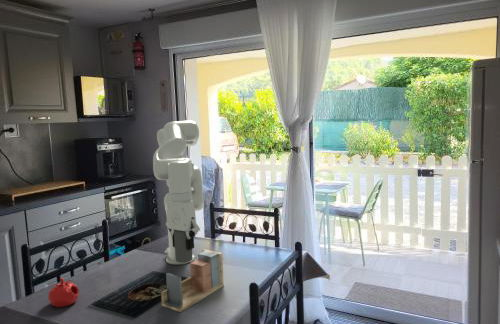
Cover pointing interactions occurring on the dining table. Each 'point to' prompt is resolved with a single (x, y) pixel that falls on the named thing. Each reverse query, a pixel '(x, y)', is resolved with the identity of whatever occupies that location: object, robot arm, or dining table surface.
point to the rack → (200, 279)
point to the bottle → (181, 247)
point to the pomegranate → (63, 294)
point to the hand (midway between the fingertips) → (183, 247)
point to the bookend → (174, 290)
